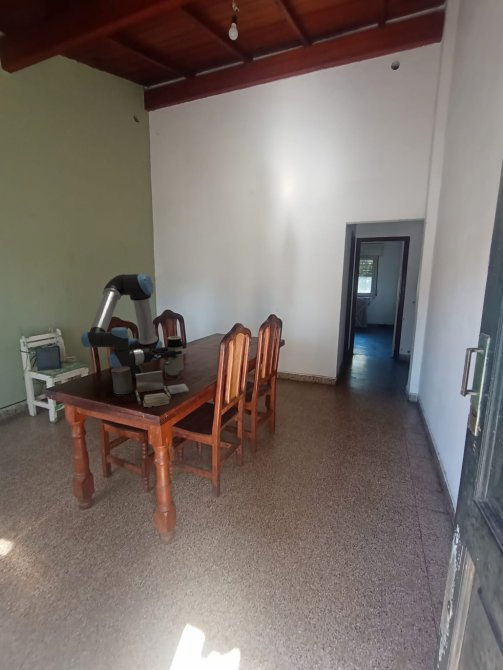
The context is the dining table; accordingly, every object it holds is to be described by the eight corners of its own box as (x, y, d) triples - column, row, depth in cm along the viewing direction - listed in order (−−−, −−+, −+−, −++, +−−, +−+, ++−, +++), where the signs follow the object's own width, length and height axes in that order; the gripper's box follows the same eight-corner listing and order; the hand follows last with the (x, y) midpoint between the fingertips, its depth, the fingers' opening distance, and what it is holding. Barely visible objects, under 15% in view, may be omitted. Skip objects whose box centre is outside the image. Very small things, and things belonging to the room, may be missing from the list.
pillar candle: (130, 388, 192) (127, 362, 189) (134, 393, 184) (132, 366, 181) (112, 391, 187) (109, 365, 184) (116, 397, 179) (112, 370, 176)
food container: (186, 377, 209) (185, 361, 207) (180, 380, 204) (179, 364, 202) (170, 374, 214) (169, 359, 212) (164, 377, 209) (162, 362, 207)
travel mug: (173, 366, 190) (171, 335, 187) (186, 367, 188) (184, 336, 185) (166, 371, 183) (164, 338, 179) (179, 372, 181) (177, 339, 177)
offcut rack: (135, 391, 186) (133, 374, 184) (164, 387, 192) (163, 370, 190) (140, 409, 163) (138, 389, 161) (173, 403, 169) (172, 384, 167)
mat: (167, 388, 191) (167, 386, 191) (184, 385, 195) (184, 383, 195) (170, 394, 182) (170, 392, 182) (188, 391, 186) (188, 389, 186)
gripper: (136, 358, 183) (176, 352, 195) (148, 367, 166) (191, 360, 178) (135, 345, 182) (176, 339, 194) (147, 352, 165) (190, 346, 177)
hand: (183, 349), depth 186 cm, fingers closed on travel mug, 8 cm apart
